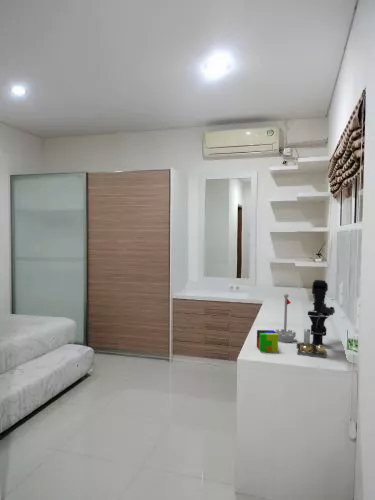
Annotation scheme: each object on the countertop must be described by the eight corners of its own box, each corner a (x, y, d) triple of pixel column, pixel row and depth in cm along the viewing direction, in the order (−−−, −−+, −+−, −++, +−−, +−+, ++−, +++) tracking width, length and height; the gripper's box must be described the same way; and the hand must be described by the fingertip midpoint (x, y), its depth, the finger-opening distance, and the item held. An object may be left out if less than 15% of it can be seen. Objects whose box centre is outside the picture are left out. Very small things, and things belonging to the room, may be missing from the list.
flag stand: (270, 337, 246) (271, 292, 245) (287, 336, 250) (288, 291, 249) (282, 343, 234) (283, 295, 232) (299, 341, 238) (301, 294, 237)
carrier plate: (297, 348, 224) (297, 339, 223) (326, 352, 218) (326, 342, 217) (294, 354, 213) (295, 344, 212) (325, 358, 206) (325, 348, 206)
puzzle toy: (273, 346, 227) (273, 330, 226) (277, 351, 217) (278, 334, 216) (256, 346, 226) (257, 330, 226) (260, 351, 216) (260, 334, 216)
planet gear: (299, 347, 221) (300, 327, 220) (312, 349, 219) (313, 328, 218) (300, 351, 213) (300, 330, 213) (313, 353, 211) (314, 331, 211)
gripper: (327, 301, 209) (326, 330, 207) (338, 303, 223) (338, 329, 221) (307, 300, 216) (306, 328, 214) (320, 301, 230) (319, 327, 228)
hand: (318, 328), depth 219 cm, fingers open, 9 cm apart
